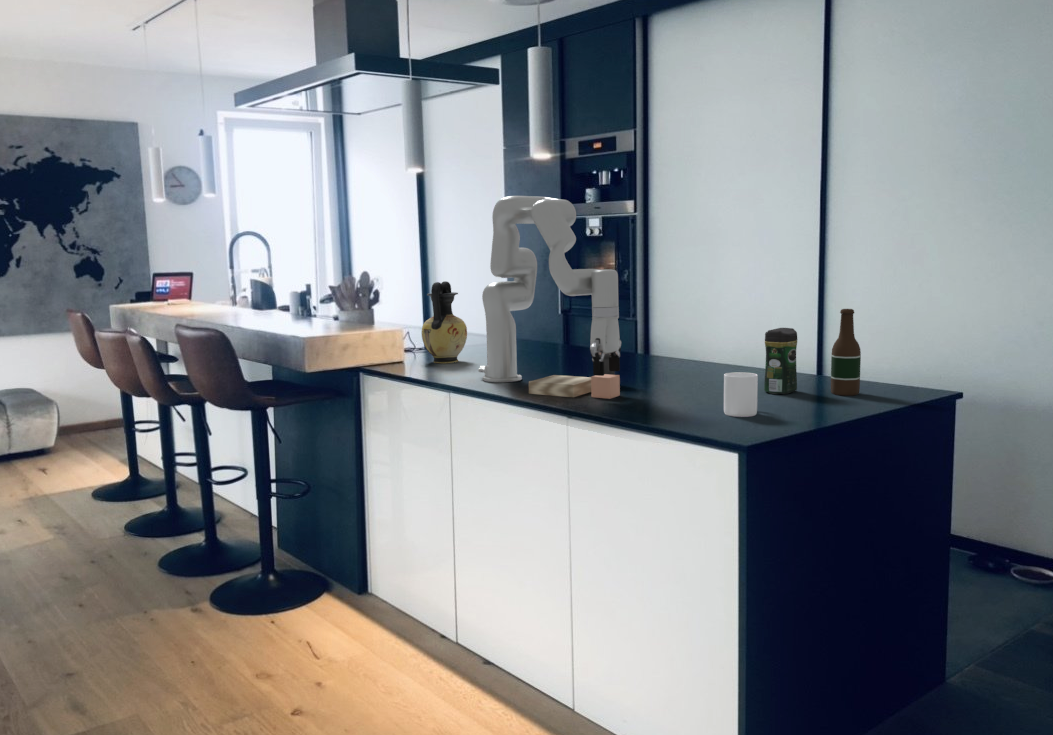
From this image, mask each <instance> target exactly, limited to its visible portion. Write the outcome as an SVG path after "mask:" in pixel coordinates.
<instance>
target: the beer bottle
mask: <svg viewBox="0 0 1053 735" xmlns="http://www.w3.org/2000/svg"><path fill="white" fill-rule="evenodd" d="M839 313H840V314H841V315H840V321H839V322H840V324H839V325H840V326H839V333H838V337H837V339H836V340H835V342H834V344H833V346H832V349H831V356H830V357H831V360H830V362H831V364H830V366H831V368H830V393H831V394H833V395H835V396H844V397H848V396H852V397H853V396H857V395H859V394H860V386H861V354H862V353H861V351H862V350H861V347H860V344H859V342H858V340H857V339H856V337H855V331H854V330H855V326H854V314H855V310H854V309H853V308H841V309H840V312H839Z"/></svg>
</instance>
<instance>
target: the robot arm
mask: <svg viewBox="0 0 1053 735" xmlns="http://www.w3.org/2000/svg"><path fill="white" fill-rule="evenodd" d="M491 218H492V228H493V230H492V233H493V234H492V242H491V243H492V244H491V253H490V266H489V268H490V272H491V274H492V275H493V276H494V277H495V278H498V279H510V278H511V279H513V280H512V281H510V280H509V281H508V280H506V281H495V282H490V283H489V284H488V285H486V286H485V287H484V289H483V291H482V298H481V299H482V304H483V308H484V309H483V310H484V313H485V314H484V316H485V324H486V326H485V328H486V329H485V330H486V360H487V361H486V362H487V365H480V366H479V368H478V370H477V371H478V373H484V375H483V376H482V380H483V381H484V382H488V383H513V382H519V381H521V380H522V379H523V378H522V377H523V376H522V375H521V374H518V365H517V364H518V363H517V362H518V360H517V325H516V321H515V318H514V317H513V314H512V313H511V312H515V311H522V310H527V309H529V308H530V307H531V305H532V304H533V302H534V299H535V291H536V283H537V275H538V274H537V273H538V260H537V257H536V254H535V253H534V251H532V249H530V248H528V247H520V241H521V240H520V239H521V234H520V231H519V229H518V226H517V225H522V224H523V225H535V226H536V227H537V230H538V231H539V233H540V235H541V237H542V239H543V240H544V242H545V243H546V245H547V247H548V249H549V251H550V252H549V255H548V268H549V270H548V271H549V273H550V275H551V278H552V279H553V281H554V282H555V283H554V284H556V286H557V288H558V289H559V290H560V291H561V292H562V293H563V294H564V295H565V296H569V297H576V296H590V295H591V314H592V315H591V316H592V317H591V319H592V320H591V326H590V339H589V340H590V347H589V351H590V356H591V357H592V358H591V361H592V367H593V368H592V371H593V376H595V375H598V376H603V375H604V361H603V358H604V355H605V354H608V353H609V355H610V357H609V371H615V372H620V370H621V364H620V362H621V361H620V357H621V350H622V340H621V339H620V336H621V335H620V327H619V320H618V319H619V318H620V312H619V311H620V309H619V308H620V307H619V304H620V303H619V274H618V271H617V270H615V269H611V268H609V269H608V268H607V269H597V268H578V269H577V268H574V269H572V267H571V265H570V264H569V263H568V262H569V261H568V260H567V259H566V256H565V254H566V253H568V251H570V250H571V249H572V248H573V247H574V245H575V244H576V241H577V237H576V235H575V233H574V231H573V230H572V228H571V227H572V226H573V225H574V223H575V222H576V220H577V211H576V208H575V206H574V204H573V203H572V202H570V201H569V200H567V199H561V198H555V197H548V196H540V195H539V196H536V195H535V196H533V195H532V196H531V195H509V196H504V197H502V198H500V199H499V200H498V201H497V202H496V203H495V205H494V206H493V211H492V217H491ZM599 355H600V356H599Z"/></svg>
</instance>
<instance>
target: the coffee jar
mask: <svg viewBox="0 0 1053 735" xmlns="http://www.w3.org/2000/svg"><path fill="white" fill-rule="evenodd" d="M764 345H765V346H764V347H765V366H764V367H765V370H764V382H763V383H764V386H763V390H764V392H766V393H769V394H774V395H777V394H783V395H785V394H790V393H794V392H796V391H797V390H798V375H797V349H798V348H797V346H798V332H797V331H796V330H795V328H792V327H778V328H774V329H769V330H767V331H766V332H765V334H764Z"/></svg>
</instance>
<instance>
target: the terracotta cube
mask: <svg viewBox="0 0 1053 735" xmlns="http://www.w3.org/2000/svg"><path fill="white" fill-rule="evenodd" d="M590 377H591V392H590V393H591V398H598V399H599V398H600V399H608V400H610V399H611V400H612V399H614V398H616V397H619V396H620V394H621V392H620V391H621V389H620V388H621V386H620V384H621V378H620V374H614V375H610V374H604V375H603V376H598V375H592V376H590Z"/></svg>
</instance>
